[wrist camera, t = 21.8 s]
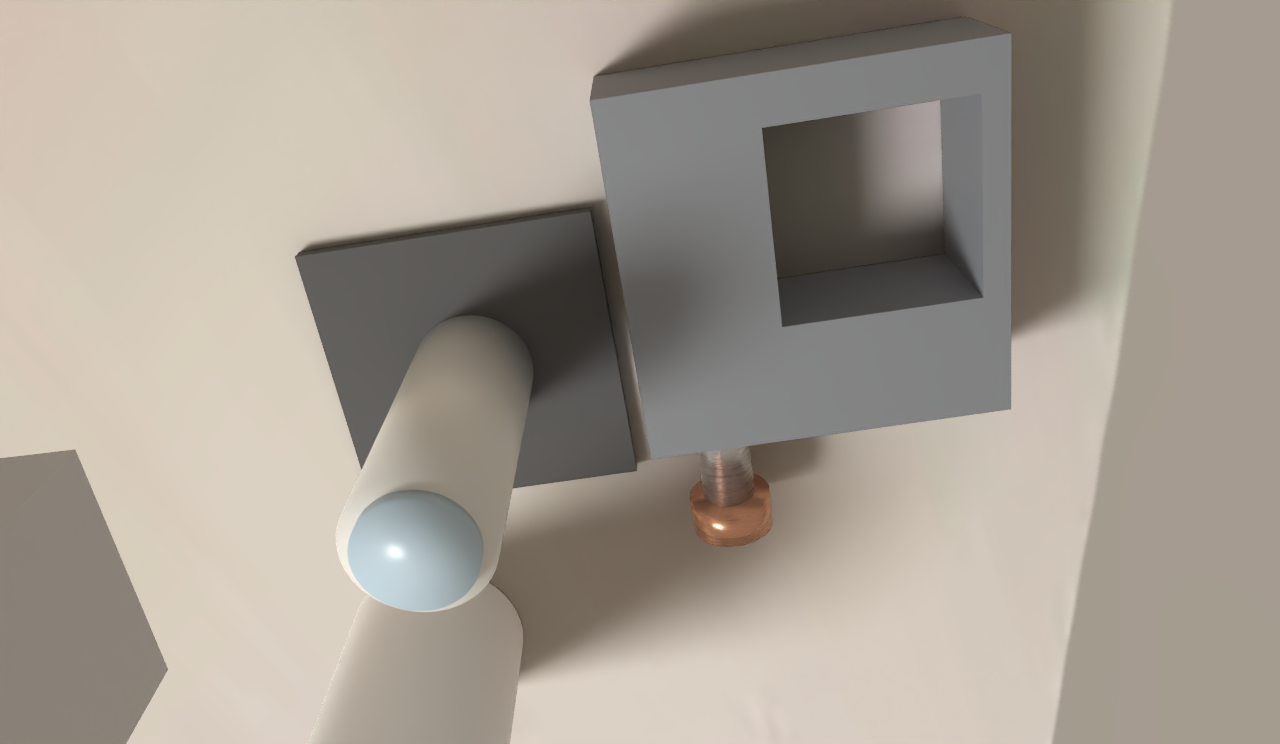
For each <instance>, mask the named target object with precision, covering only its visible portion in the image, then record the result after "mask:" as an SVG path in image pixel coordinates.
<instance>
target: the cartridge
mask: <svg viewBox="0 0 1280 744" xmlns="http://www.w3.org/2000/svg"><path fill="white" fill-rule="evenodd" d="M533 377H534V367H533V361H532V358H531V354H530V352H529V350H528V348H527V346H526V345H525V343H524V341H523V340H522V339H521V338H520V337H519V335H518V334H516V333H515V332H514V331H513V330H512V329H511V328H509V327H508V326H506V325H505V324H503V323H501V322H499V321H497V320H494V319H492V318H488V317H484V316H478V315H465V316H458V317H453V318H451V319H448V320H445V321H443V322H441V323H439V324H438V325H437V326H435V327H434V328H433V329H431V330H430V331H429V332H428V333H427V335H426V336H425V337H424V338H423V340H422V342H421V343H420V345H419V347H418V349H417V352H416V354H415V356H414V358H413V360H412V362H411V365H410V367H409V369H408V371H407V373H406V375H405V377H404V380H403V382H402V384H401V386H400V388H399V390H398V393H397V395H396V397H395V399H394V401H393V403H392V405H391V408H390V410H389V412H388V414H387V416H386V418H385V421H384V423H383V425H382V427H381V429H380V431H379V433H378V436H377V438H376V440H375V442H374V444H373V446H372V449H371V451H370V453H369V455H368V457H367V459H366V461H365V464H364V466H363V468H362V470H361V472H360V474H359V477H358V479H357V481H356V483H355V485H354V487H353V489H352V492H351V494H350V496H349V498H348V500H347V502H346V505H345V507H344V509H343V511H342V513H341V516H340V518H339V521H338V524H337V529H336V548H337V552H338V556H339V559H340V561H341V564H342V566H343V568H344V569H345V571H346V573H347V574H348V576H349V577H350V578H351V579H352V581H353V582H354V583H355V584H356V585H357V586H358V587H359V588H360V589H361V590H363V591H364V592H365V593H367V594H368V595H369V596H371V597H373V598H374V599H376V600H378V601H380V602H382V603H384V604H386V605H389V606H392V607H395V608H398V609H402V610H407V611H414V612H434V611H441V610H446V609H450V608H453V607H456V606H459V605H461V604H463V603H465V602H467V601H469V600H470V599H472V598H473V597H475V596H476V595H477V594H478V593H480V592H481V591H482V590H483V589H484V588H485V587H486V586H487V584H488V583H489V581H490V580H491V579H492V577H493V575H494V573H495V571H496V568H497V565H498V562H499V557H500V552H501V546H502V541H503V536H504V531H505V525H506V520H507V515H508V510H509V504H510V499H511V494H512V489H513V483H514V478H515V473H516V468H517V462H518V457H519V452H520V447H521V441H522V436H523V431H524V426H525V420H526V415H527V410H528V405H529V399H530V394H531V389H532V384H533Z"/></svg>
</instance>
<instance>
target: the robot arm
mask: <svg viewBox="0 0 1280 744" xmlns="http://www.w3.org/2000/svg"><path fill="white" fill-rule="evenodd" d="M167 670H168V668H167V666H166V663H165V661H164V659H163V656H162V654H161V652H160V649H159V647H158V644H157V642H156V640H155V637H154V635H153V633H152V630H151V628H150V626H149V623H148V621H147V618H146V616H145V614H144V611H143V609H142V607H141V604H140V602H139V600H138V597H137V595H136V592H135V590H134V588H133V585H132V583H131V581H130V578H129V576H128V573H127V571H126V569H125V566H124V564H123V562H122V559H121V557H120V555H119V552H118V550H117V547H116V545H115V543H114V540H113V538H112V536H111V533H110V531H109V529H108V526H107V524H106V521H105V519H104V517H103V514H102V512H101V510H100V507H99V505H98V503H97V500H96V498H95V495H94V493H93V491H92V488H91V486H90V484H89V481H88V479H87V476H86V474H85V472H84V469H83V467H82V465H81V462H80V460H79V458H78V455H77V453H76V450H68V451H59V452H51V453H42V454H34V455H25V456H17V457H8V458H0V744H126V743H127V741H128V739H129V737H130V736H131V734H132V732H133V730H134V729H135V727H136V725H137V723H138V721H139V720H140V718H141V716H142V714H143V713H144V711H145V709H146V707H147V706H148V704H149V702H150V700H151V698H152V697H153V695H154V693H155V691H156V690H157V688H158V686H159V684H160V683H161V681H162V679H163V677H164V676H165V674H166V672H167Z"/></svg>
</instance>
